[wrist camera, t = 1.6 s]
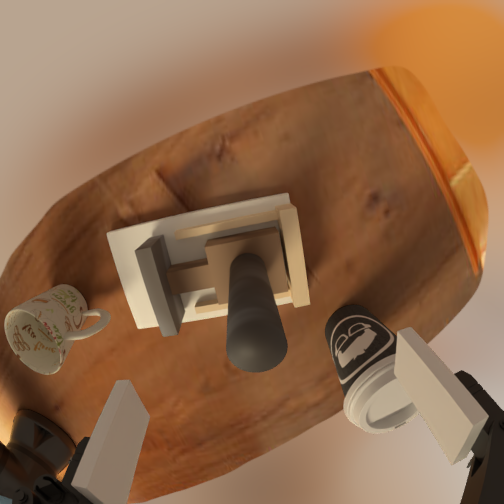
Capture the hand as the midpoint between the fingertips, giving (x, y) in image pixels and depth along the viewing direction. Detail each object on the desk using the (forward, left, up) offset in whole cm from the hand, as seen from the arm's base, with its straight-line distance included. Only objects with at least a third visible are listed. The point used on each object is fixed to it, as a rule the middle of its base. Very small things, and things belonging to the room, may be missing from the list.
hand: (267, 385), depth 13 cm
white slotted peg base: (-5, 0, -21) cm, 21 cm away
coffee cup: (+11, -12, -21) cm, 26 cm away
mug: (-22, -2, -21) cm, 31 cm away
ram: (-3, 0, -19) cm, 19 cm away
